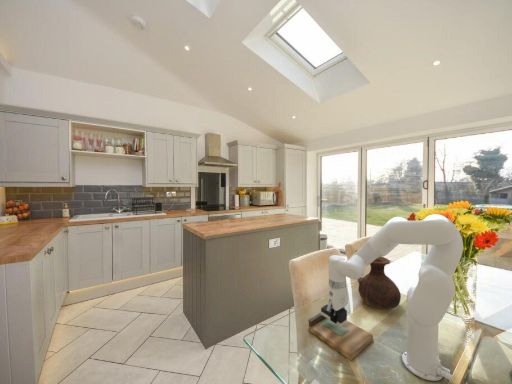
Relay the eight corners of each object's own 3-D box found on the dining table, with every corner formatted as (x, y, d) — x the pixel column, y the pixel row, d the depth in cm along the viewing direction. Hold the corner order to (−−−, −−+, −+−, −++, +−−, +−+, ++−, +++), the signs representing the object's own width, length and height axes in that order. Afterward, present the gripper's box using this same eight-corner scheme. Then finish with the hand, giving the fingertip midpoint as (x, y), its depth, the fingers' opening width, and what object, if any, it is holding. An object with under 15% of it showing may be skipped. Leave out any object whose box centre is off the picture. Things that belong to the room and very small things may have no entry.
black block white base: (346, 322, 100) (347, 310, 100) (340, 326, 97) (340, 314, 97) (327, 310, 109) (327, 299, 109) (320, 314, 106) (320, 302, 106)
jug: (375, 290, 139) (375, 245, 137) (409, 309, 119) (410, 256, 117) (349, 298, 131) (349, 250, 129) (381, 319, 111) (381, 263, 109)
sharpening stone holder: (372, 340, 97) (372, 328, 97) (351, 360, 87) (350, 347, 87) (331, 315, 115) (331, 306, 115) (308, 330, 105) (308, 319, 105)
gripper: (333, 291, 92) (333, 331, 94) (354, 280, 102) (354, 316, 103) (319, 284, 99) (319, 322, 100) (340, 274, 108) (340, 308, 110)
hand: (337, 319), depth 102 cm, fingers closed on black block white base, 5 cm apart
